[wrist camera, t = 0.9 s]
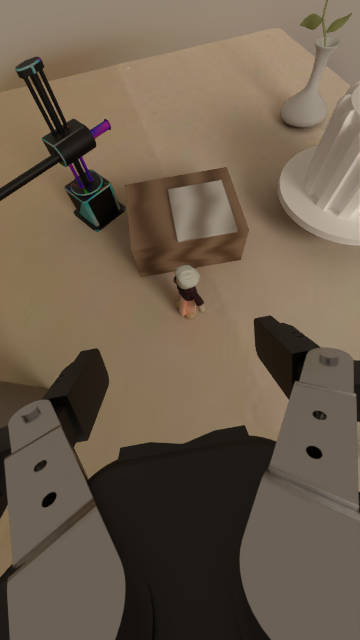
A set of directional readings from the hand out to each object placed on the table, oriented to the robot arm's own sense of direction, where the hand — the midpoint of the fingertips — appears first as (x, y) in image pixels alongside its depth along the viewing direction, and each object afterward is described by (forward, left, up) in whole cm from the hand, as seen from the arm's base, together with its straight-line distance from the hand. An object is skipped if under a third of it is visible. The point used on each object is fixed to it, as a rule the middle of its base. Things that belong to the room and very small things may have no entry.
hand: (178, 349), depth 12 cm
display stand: (+4, +31, -27) cm, 41 cm away
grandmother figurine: (+2, +14, -27) cm, 31 cm away
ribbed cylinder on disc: (+35, +30, -27) cm, 54 cm away
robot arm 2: (-18, +40, -27) cm, 52 cm away
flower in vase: (+40, +64, -27) cm, 80 cm away
